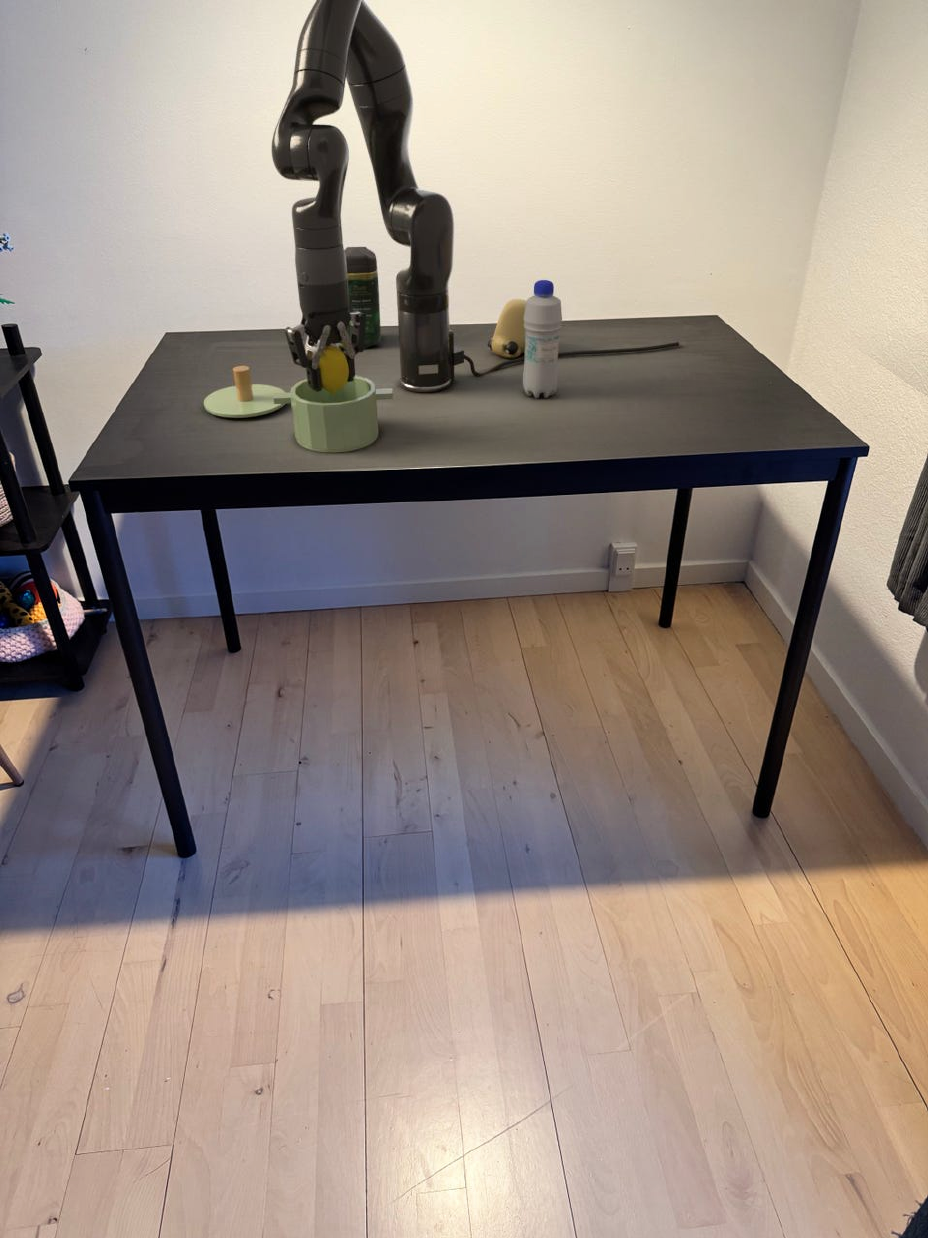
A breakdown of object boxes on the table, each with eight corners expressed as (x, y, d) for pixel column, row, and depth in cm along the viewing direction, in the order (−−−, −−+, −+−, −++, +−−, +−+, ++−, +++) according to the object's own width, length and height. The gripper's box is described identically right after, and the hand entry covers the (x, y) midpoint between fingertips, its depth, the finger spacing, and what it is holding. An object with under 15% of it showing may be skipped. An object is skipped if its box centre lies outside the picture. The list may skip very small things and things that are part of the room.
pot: (282, 421, 152) (276, 376, 148) (393, 417, 154) (391, 371, 149) (276, 455, 141) (269, 407, 136) (396, 449, 142) (393, 402, 138)
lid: (211, 391, 164) (204, 356, 160) (290, 388, 165) (286, 353, 161) (198, 422, 152) (191, 384, 148) (284, 419, 153) (279, 381, 149)
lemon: (344, 401, 141) (340, 351, 136) (311, 398, 142) (305, 349, 137) (355, 389, 145) (351, 340, 140) (322, 386, 146) (317, 338, 141)
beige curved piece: (499, 364, 186) (469, 338, 177) (527, 313, 185) (499, 284, 177) (532, 375, 179) (502, 348, 171) (561, 322, 178) (533, 292, 170)
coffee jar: (382, 348, 184) (377, 253, 173) (344, 350, 183) (336, 255, 172) (380, 334, 191) (375, 242, 181) (343, 335, 191) (336, 243, 180)
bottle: (533, 403, 158) (537, 287, 147) (514, 390, 163) (517, 278, 152) (565, 396, 161) (572, 282, 149) (545, 384, 166) (550, 273, 154)
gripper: (346, 263, 139) (354, 368, 149) (267, 279, 131) (281, 390, 141) (375, 272, 134) (382, 380, 144) (295, 289, 127) (308, 403, 136)
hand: (332, 384), depth 142 cm, fingers closed on lemon, 5 cm apart
